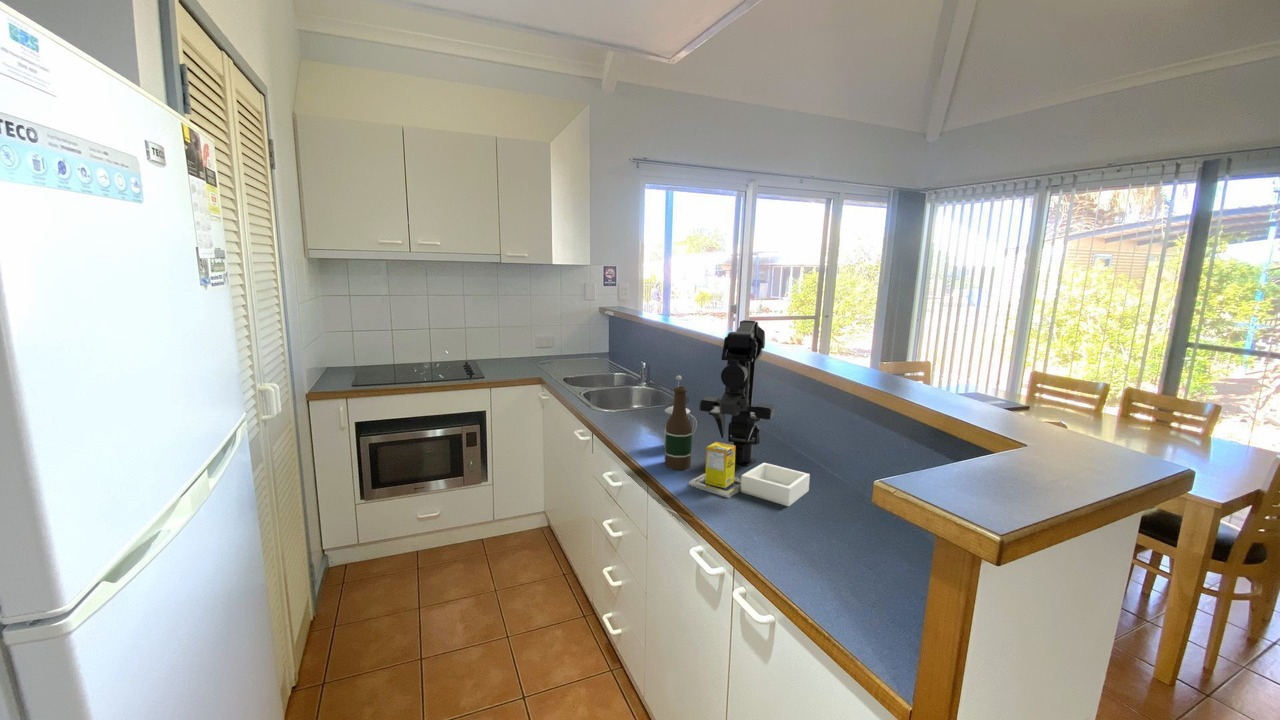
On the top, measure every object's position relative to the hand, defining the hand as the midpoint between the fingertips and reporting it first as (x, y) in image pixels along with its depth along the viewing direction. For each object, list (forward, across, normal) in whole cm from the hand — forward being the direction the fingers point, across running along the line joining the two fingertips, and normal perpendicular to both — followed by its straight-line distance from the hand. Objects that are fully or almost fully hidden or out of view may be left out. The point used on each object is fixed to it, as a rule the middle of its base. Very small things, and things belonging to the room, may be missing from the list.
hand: (734, 439), depth 134 cm
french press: (+13, -23, +20) cm, 33 cm away
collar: (+13, -3, -1) cm, 13 cm away
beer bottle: (+13, -18, +6) cm, 23 cm away
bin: (+13, +11, +2) cm, 17 cm away
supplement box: (+13, -3, -1) cm, 14 cm away
